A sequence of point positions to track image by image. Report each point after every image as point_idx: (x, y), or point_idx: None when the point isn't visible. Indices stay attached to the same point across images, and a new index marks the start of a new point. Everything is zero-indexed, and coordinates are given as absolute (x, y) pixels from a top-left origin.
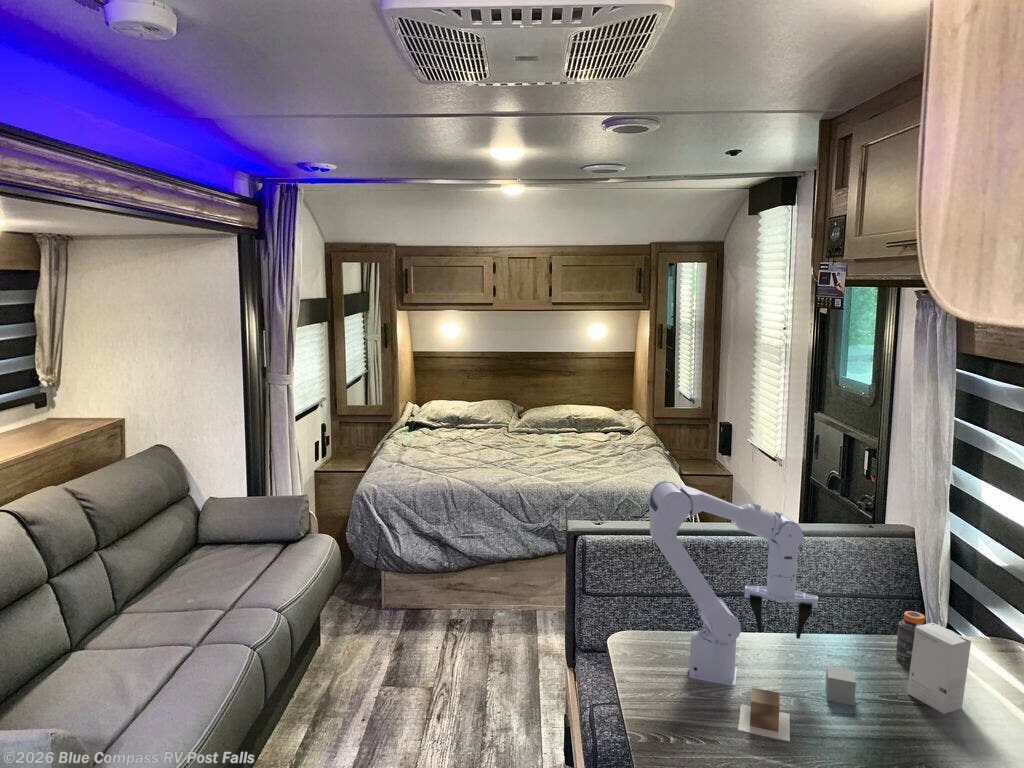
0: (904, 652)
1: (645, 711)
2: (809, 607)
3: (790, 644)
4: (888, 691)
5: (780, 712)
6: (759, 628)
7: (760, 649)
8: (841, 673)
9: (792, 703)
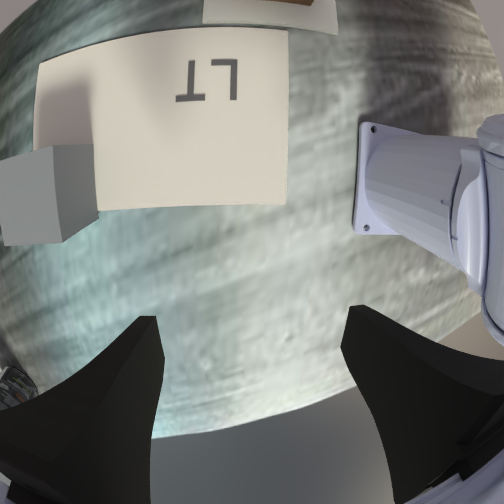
0: (12, 388)
1: (472, 26)
2: (24, 488)
3: (211, 400)
4: (4, 273)
5: (228, 18)
6: (371, 311)
7: (281, 360)
8: (22, 204)
9: (190, 75)
